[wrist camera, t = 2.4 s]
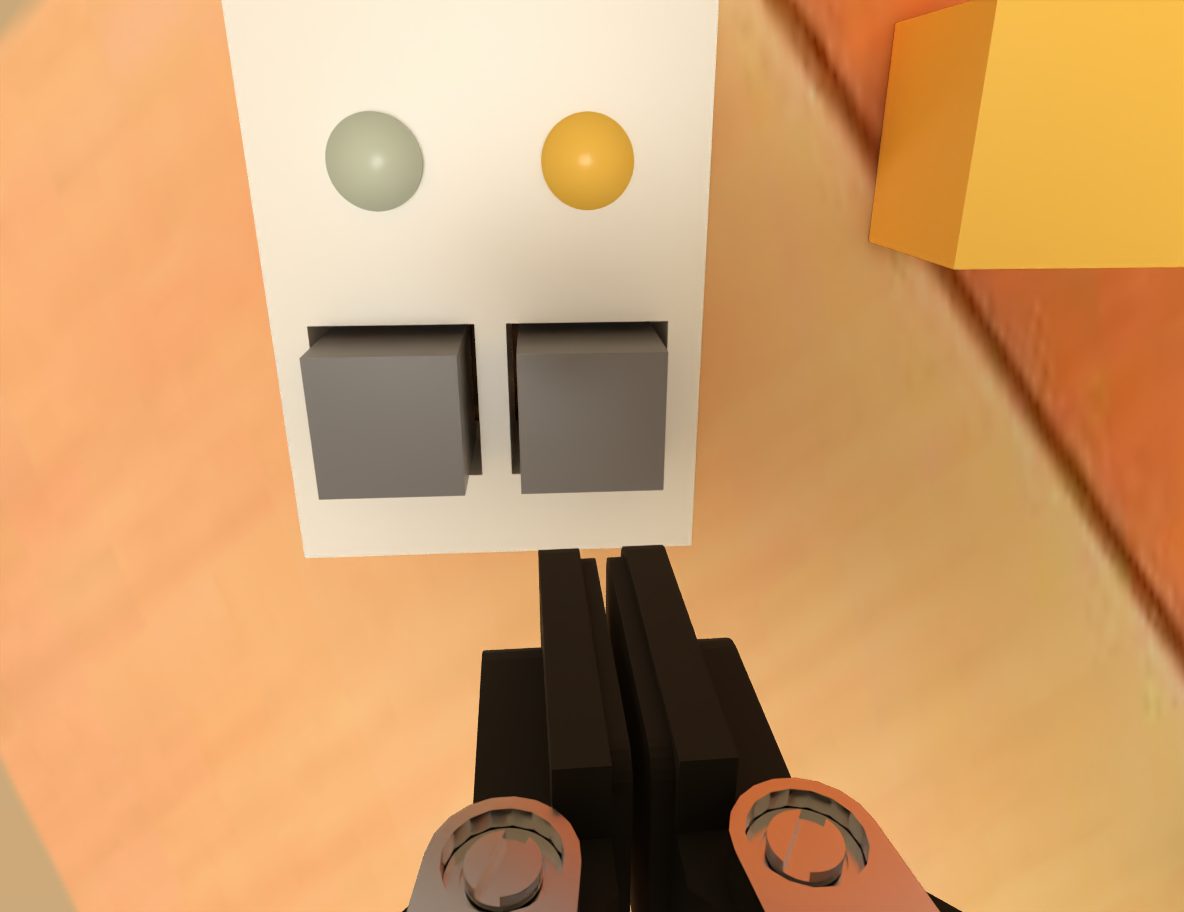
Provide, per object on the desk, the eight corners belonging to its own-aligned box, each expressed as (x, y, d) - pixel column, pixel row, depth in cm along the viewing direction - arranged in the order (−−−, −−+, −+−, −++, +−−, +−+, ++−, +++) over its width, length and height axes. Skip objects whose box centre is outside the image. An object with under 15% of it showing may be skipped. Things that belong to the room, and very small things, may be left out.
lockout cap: (1099, 25, 23) (1257, -6, 18) (1054, 239, 26) (1185, 266, 20) (895, 23, 23) (998, -8, 18) (868, 241, 25) (954, 269, 20)
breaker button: (468, 318, 23) (456, 355, 19) (475, 439, 24) (465, 495, 20) (338, 320, 22) (299, 358, 19) (352, 442, 24) (318, 499, 20)
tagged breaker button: (646, 316, 23) (668, 352, 19) (643, 435, 24) (663, 490, 21) (518, 318, 23) (516, 354, 19) (523, 438, 24) (521, 494, 20)
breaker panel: (685, 9, 22) (722, -21, 18) (667, 483, 28) (693, 550, 23) (278, 5, 22) (212, -27, 17) (340, 492, 27) (301, 563, 23)
